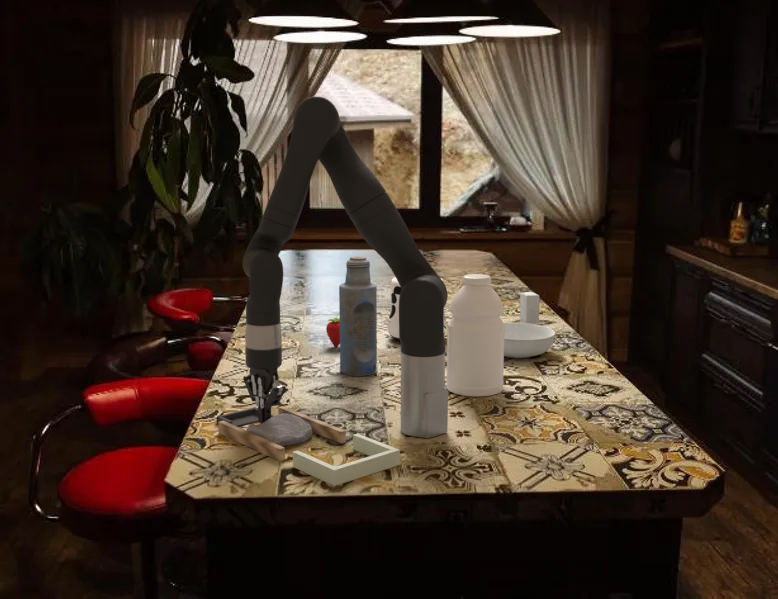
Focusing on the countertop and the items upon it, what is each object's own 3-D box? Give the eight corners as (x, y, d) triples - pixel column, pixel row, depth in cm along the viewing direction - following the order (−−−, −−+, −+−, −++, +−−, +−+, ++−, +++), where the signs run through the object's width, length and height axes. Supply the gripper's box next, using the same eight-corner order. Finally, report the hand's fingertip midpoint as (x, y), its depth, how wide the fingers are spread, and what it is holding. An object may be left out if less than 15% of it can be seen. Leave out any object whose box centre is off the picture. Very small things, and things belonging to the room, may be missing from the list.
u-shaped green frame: (399, 464, 184) (399, 449, 184) (334, 485, 174) (334, 470, 173) (357, 447, 194) (357, 433, 193) (293, 466, 183) (292, 451, 183)
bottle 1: (348, 378, 244) (347, 261, 238) (334, 368, 253) (333, 255, 247) (382, 374, 248) (382, 258, 242) (368, 365, 256) (368, 253, 251)
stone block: (316, 446, 201) (284, 426, 207) (319, 425, 199) (286, 406, 205) (274, 463, 192) (241, 442, 198) (276, 442, 190) (243, 422, 196)
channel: (345, 442, 197) (345, 430, 196) (279, 461, 186) (279, 449, 186) (282, 417, 213) (282, 406, 212) (218, 433, 202) (218, 421, 202)
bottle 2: (438, 393, 231) (440, 278, 225) (454, 379, 243) (456, 269, 238) (496, 400, 226) (499, 282, 220) (509, 384, 239) (512, 273, 233)
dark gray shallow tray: (268, 418, 212) (268, 412, 211) (229, 428, 205) (229, 421, 205) (255, 413, 215) (255, 407, 215) (216, 423, 209) (216, 416, 208)
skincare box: (539, 334, 292) (541, 295, 290) (525, 335, 291) (526, 295, 289) (532, 329, 298) (533, 291, 296) (518, 330, 297) (519, 291, 295)
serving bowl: (520, 368, 254) (521, 342, 253) (463, 353, 270) (464, 329, 268) (570, 355, 268) (571, 331, 266) (513, 341, 283) (513, 318, 282)
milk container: (458, 341, 283) (459, 281, 280) (410, 349, 274) (410, 286, 270) (423, 330, 297) (423, 272, 294) (376, 337, 288) (376, 278, 284)
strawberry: (345, 343, 280) (345, 310, 278) (348, 350, 272) (347, 315, 270) (325, 344, 279) (325, 310, 277) (327, 350, 271) (326, 316, 270)
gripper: (296, 347, 198) (297, 427, 201) (261, 335, 208) (262, 412, 211) (266, 352, 193) (267, 435, 196) (231, 340, 203) (232, 419, 206)
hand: (264, 423), depth 204 cm, fingers closed
